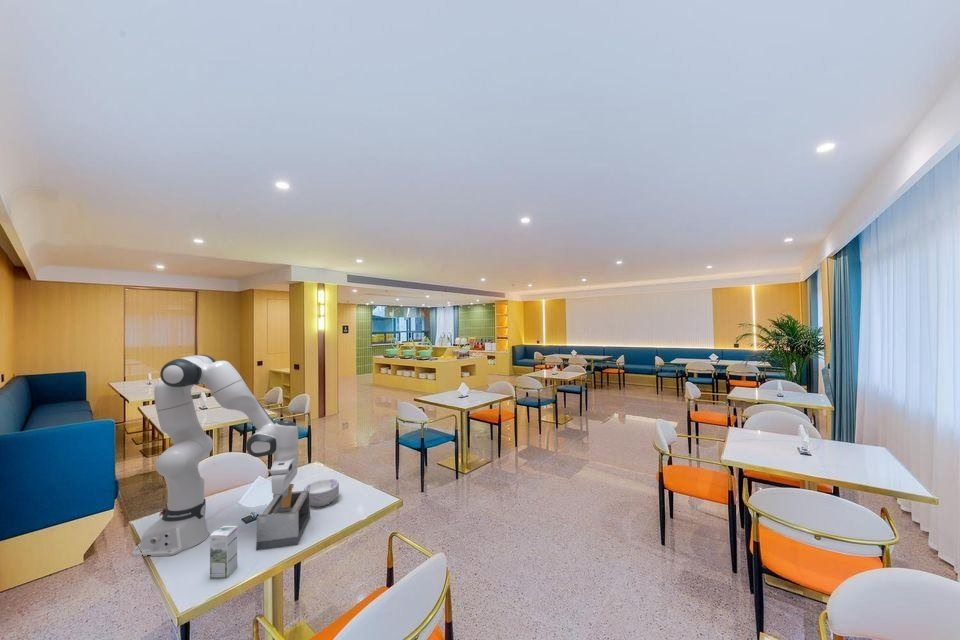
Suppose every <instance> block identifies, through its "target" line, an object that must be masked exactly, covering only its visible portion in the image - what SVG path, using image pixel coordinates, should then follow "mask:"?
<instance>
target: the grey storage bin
mask: <svg viewBox="0 0 960 640" xmlns="http://www.w3.org/2000/svg"><path fill="white" fill-rule="evenodd" d="M281 504H282V494H280V495H273V494H272V500H271V501H270V502H269V504H268V505H267V506H266V508H265V509H264V510H263V512H262V513H261V514H259V515H257V517H256V543H255V545H256V547H255V551H265V550H271V549H278V548H279V549H280V548H286V547H287V548H288V547H294V546H298V545H299V542H300V541H301V538H302V536H303V534H304V531H305V530H306V528H307V525H308V523H309V520H310V519H311V505H310V490H305V491H304V490H301V491H292V496H291V505H290V507H287V508H292V510H291V512H285V513H279V509H282V508H281Z"/></svg>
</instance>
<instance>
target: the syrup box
mask: <svg viewBox="0 0 960 640" xmlns="http://www.w3.org/2000/svg"><path fill="white" fill-rule="evenodd" d="M237 568H238V525H222V526H219V527H217V528H216V530H214V531H213V532H212V533H211V534H209V579H227V578H229V576H230V575H232V573H233V572H234V571H236V569H237Z"/></svg>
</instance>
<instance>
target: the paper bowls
mask: <svg viewBox="0 0 960 640" xmlns="http://www.w3.org/2000/svg"><path fill="white" fill-rule="evenodd" d="M305 490H310V507H311V506H312V507H315V508H316V507H317V508H318V506H319V507H324V506H327V505H329V504H330V502H331V503H332V502H333V501H334V498H336V497H337V496H338V495H339V494H340V493H339V492H340V491H339V490H340V483H339V481H338V480H336V479H333V478H326V479H324V478H323V479H319V480H316V481H312V482H310V483H309V484H307V485H305V487H304V489H303V491H305Z"/></svg>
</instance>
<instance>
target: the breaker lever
mask: <svg viewBox="0 0 960 640" xmlns="http://www.w3.org/2000/svg"><path fill="white" fill-rule="evenodd" d="M294 486H295V484H294V483H290V487H289V494H288V496H287V497H283V496H282V504H281V508H282V509H279V513H285V512H291V510H292V508H287V507H290V505H291V496H292V492H293V489H294Z"/></svg>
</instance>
